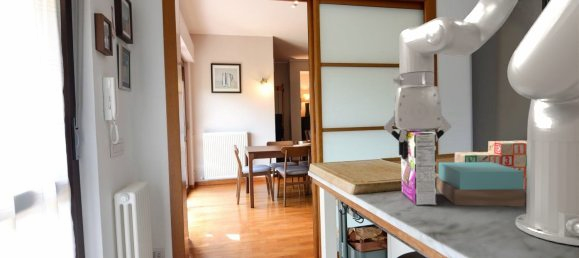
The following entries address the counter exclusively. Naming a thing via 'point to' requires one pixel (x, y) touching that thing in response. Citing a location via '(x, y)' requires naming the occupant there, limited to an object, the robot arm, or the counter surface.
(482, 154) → the stack of blocks
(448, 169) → the teal top slab
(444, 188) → the walnut base slab
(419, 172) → the candy bar box
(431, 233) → the counter surface
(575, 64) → the robot arm
